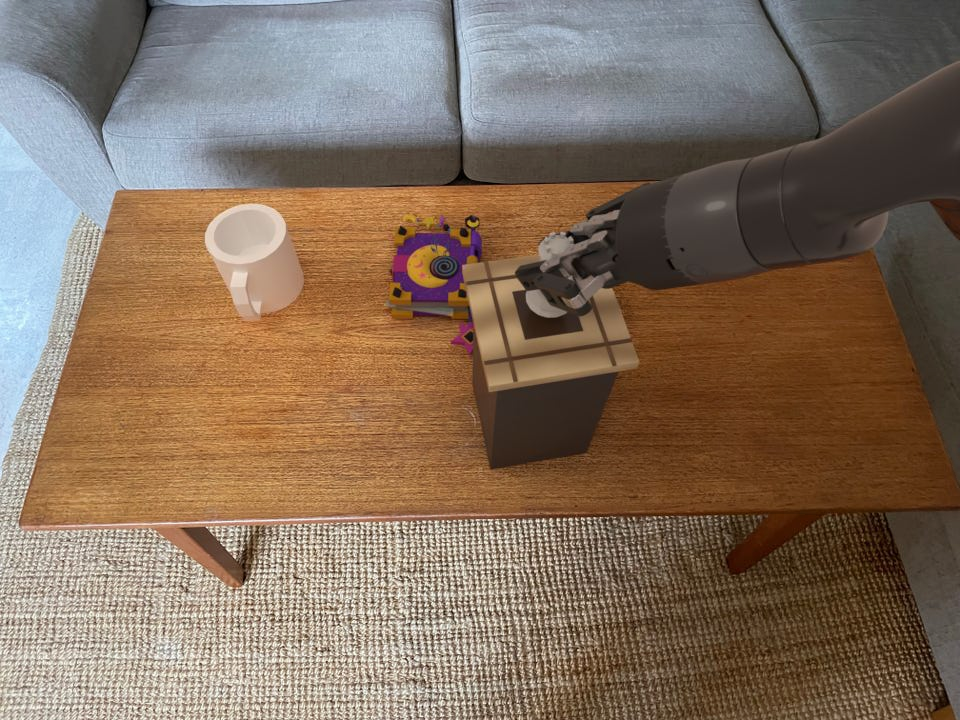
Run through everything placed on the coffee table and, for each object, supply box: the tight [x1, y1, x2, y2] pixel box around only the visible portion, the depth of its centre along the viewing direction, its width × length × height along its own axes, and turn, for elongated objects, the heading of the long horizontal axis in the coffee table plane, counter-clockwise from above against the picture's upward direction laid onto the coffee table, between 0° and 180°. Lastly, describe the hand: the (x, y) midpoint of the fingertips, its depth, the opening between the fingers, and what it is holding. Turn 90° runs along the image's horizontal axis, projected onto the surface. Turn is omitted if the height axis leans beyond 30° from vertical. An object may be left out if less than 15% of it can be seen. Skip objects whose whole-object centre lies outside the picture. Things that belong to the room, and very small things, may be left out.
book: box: [382, 214, 483, 357], centre depth 87 cm, size 15×25×12 cm, turn 0°
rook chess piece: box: [526, 231, 575, 318], centre depth 57 cm, size 4×4×8 cm
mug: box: [204, 203, 305, 322], centre depth 86 cm, size 14×10×11 cm
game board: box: [462, 253, 640, 392], centre depth 62 cm, size 14×14×1 cm
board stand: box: [472, 323, 620, 470], centre depth 72 cm, size 12×12×22 cm
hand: (534, 264), depth 57 cm, fingers closed on rook chess piece, 3 cm apart
